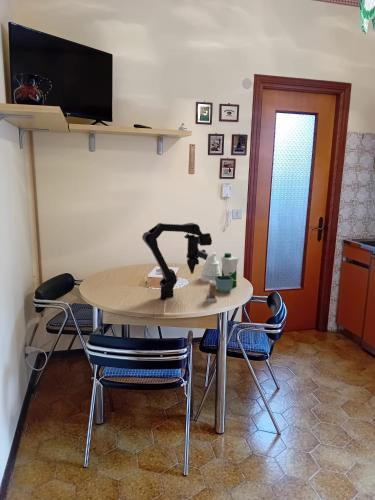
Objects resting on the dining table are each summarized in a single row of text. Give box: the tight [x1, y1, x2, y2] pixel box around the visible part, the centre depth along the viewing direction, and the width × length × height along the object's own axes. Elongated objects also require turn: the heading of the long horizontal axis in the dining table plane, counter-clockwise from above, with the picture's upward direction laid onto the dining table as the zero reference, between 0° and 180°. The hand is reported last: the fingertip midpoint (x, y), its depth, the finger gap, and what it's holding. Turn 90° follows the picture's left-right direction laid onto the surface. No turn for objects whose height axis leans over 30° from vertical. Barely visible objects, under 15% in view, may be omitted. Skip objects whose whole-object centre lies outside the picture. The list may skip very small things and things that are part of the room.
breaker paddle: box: [208, 281, 217, 298], centre depth 203 cm, size 3×5×10 cm, turn 2°
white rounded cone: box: [200, 252, 222, 283], centre depth 247 cm, size 13×13×18 cm
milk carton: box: [220, 252, 239, 288], centre depth 233 cm, size 9×9×20 cm
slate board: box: [206, 293, 218, 303], centre depth 205 cm, size 17×10×3 cm, turn 92°
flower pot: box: [215, 275, 233, 293], centre depth 220 cm, size 9×9×9 cm
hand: (192, 273), depth 211 cm, fingers closed
